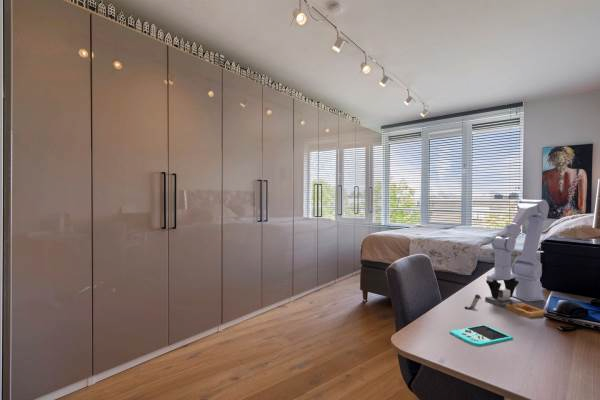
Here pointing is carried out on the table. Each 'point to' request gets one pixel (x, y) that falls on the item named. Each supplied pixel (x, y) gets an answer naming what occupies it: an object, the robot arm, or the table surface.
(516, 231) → the robot arm
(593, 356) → the table surface
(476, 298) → the tactical tomahawk
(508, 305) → the rail plate
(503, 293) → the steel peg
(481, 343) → the handheld game console
